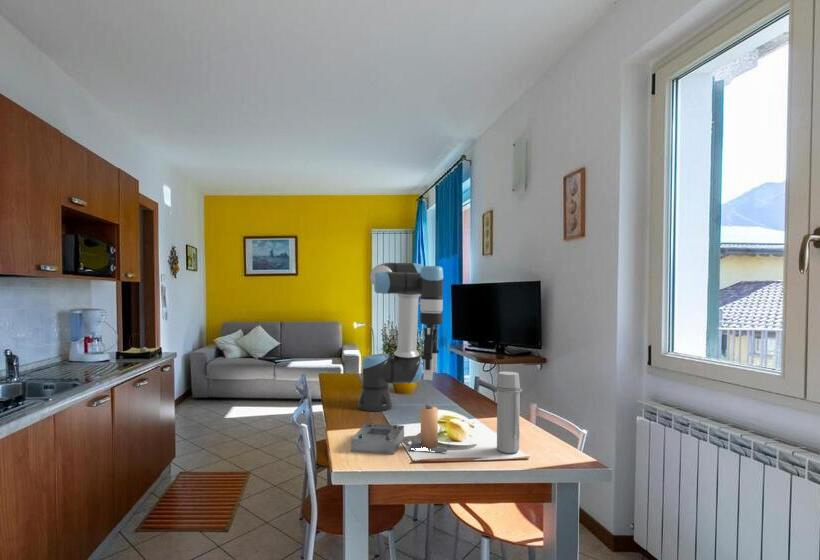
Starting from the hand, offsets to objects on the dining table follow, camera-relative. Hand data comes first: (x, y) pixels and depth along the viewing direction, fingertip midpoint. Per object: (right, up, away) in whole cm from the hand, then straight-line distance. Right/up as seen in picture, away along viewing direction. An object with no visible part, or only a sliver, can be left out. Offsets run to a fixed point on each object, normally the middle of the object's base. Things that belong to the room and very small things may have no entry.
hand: (430, 375), depth 153 cm
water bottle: (+25, -24, -5) cm, 35 cm away
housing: (-17, -23, 0) cm, 29 cm away
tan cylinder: (0, -23, -1) cm, 23 cm away
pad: (0, -23, -1) cm, 23 cm away
